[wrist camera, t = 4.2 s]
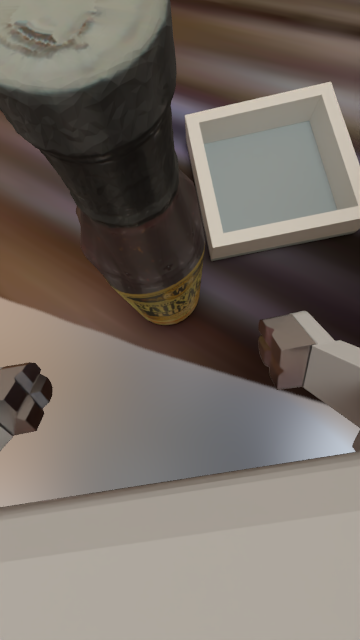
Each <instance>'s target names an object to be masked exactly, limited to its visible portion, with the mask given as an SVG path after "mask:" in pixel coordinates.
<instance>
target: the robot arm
mask: <svg viewBox="0 0 360 640" xmlns="http://www.w3.org/2000/svg"><path fill="white" fill-rule="evenodd" d="M259 331H260V333H261V336H260V337H259V339H258V347H259V352H260V356H261V358H262V361H263V363H264V364H265V365H266V366H268V367H270V368H269V375H270V377H271V379H272V381H273V383H274V385H275V387H276V389H277V390H280V389H287V388H294V387H301V386H304V388H305V389H306V390H308V391H309V392H311V393H312V394H313V395H315V396H316V397H318V398H319V399H320V400H322V401H323V402H324V403H326V404H327V405H329V406H330V407H331V408H333V409H334V410H336V411H337V412H339V413H340V414H341V415H343V416H344V417H345V418H347V419H348V420H350V421H351V422H352V423H354V424H355V425H357V426H358V427H359V428H360V348H359V347H356V346H354V345H351V344H348V343H346V342H343V341H341V340H340V341H335V340H334V339H333V338H332V337H331V336H330V335H329V334H328V333H327V332H326V331H325V330H324V329H323V328H322V327H321V326H320V325H319V323H318V322H317V321H316V320H315V319H314V318H313V317H312V316H311V315H310V314H309V313H308V312H306V311H301V312H296V313H291V314H289V315H283V316H278V317H273V318H267V319H262V320H260V321H259ZM40 371H41V369H40V368H39V367H38V366H37V364H36V363H24V364H19V365H12V366H6V367H2V368H0V451H1V450H2V448H3V447H4V446H5V445H6V444H7V443H8V442H9V441H10V440H11V439H12V437H13V436H14V435H19V434H23V433H29V432H34V431H37V428H38V426H39V424H40V422H41V420H42V417H43V415H44V411H43V408H44V407H45V406H46V405H47V404H48V403H49V402H50V399H51V397H52V385H51V382H50V381H49V379H48V378H47V377H45V376H43V375H41V374H40ZM353 448H354V449H355V451H356V452H353V453H347V454H340V455H334V456H327V457H321V458H315V459H308V460H302V461H296V462H289V463H282V464H276V465H270V466H263V467H257V468H250V469H244V470H237V471H231V472H225V473H218V474H212V475H206V476H199V477H193V478H186V479H180V480H173V481H167V482H161V483H154V484H147V485H141V486H135V487H128V488H122V489H115V490H109V491H102V492H96V493H89V494H83V495H77V496H70V497H64V498H57V499H51V500H45V501H38V502H32V503H25V504H19V505H12V506H6V507H0V640H360V431H359V433H358V435H357V437H356V439H355V441H354V443H353Z"/></svg>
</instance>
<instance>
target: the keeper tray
mask: <svg viewBox="0 0 360 640" xmlns="http://www.w3.org/2000/svg"><path fill="white" fill-rule="evenodd" d="M185 127H186V143H187V148H188V153H189V158H190V162H191V167H192V172H193V177H194V182H195V186H196V191H197V196H198V201H199V206H200V210H201V215H202V220H203V225H204V230H205V234H206V239H207V244H208V249H209V254H210V258H211V261H215V260H220V259H225V258H230V257H235V256H240V255H245V254H250V253H256V252H261V251H266V250H271V249H276V248H281V247H286V246H291V245H296V244H301V243H306V242H311V241H316V240H322V239H327V238H332V237H337V236H342V235H347V234H352V233H355V232H356V231H357V230H358V229H360V165H359V162H358V160H357V157H356V154H355V151H354V148H353V145H352V142H351V139H350V136H349V133H348V130H347V127H346V125H345V122H344V119H343V116H342V113H341V110H340V107H339V104H338V101H337V98H336V95H335V93H334V90H333V87H332V84H331V82H328V83H323V84H319V85H314V86H310V87H306V88H301V89H297V90H293V91H288V92H284V93H280V94H275V95H271V96H267V97H262V98H258V99H253V100H249V101H245V102H240V103H236V104H232V105H227V106H223V107H219V108H214V109H210V110H206V111H201V112H197V113H193V114H188V115H185Z"/></svg>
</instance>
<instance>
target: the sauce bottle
mask: <svg viewBox="0 0 360 640" xmlns="http://www.w3.org/2000/svg"><path fill="white" fill-rule="evenodd" d="M175 86H176V58H175V48H174V41H173V30H172V17H171V7H170V0H0V110H1V111H2V112H3V113H4V115H5V117H6V119H7V120H8V121H9V122H10V123H11V124H12V125H13V127H14V129H15V130H16V132H17V133H18V134H20V135H21V136H22V137H23V138H24V139H25V140H27V141H28V142H29V143H31V144H32V145H33V146H35V147H36V148H38V149H39V150H40V151H41V153H42V154H44V156H45V157H46V158H47V160H48V161H49V162H50V164H51V165H52V166H53V168H54V169H55V170H56V171H57V173H58V174H59V175H60V177H61V178H62V180H63V182H64V183H65V185H66V186H67V188H68V189H69V190H70V194H71V196H72V197H73V199H74V201H75V203H76V205H77V208H76V214H77V216H78V219H79V222H80V225H81V240H80V246H81V249H82V252H83V253H84V255H85V256H86V258H87V259H88V260H89V261H90V262H91V263H92V264H93V265H94V266H95V267H96V268H97V269H98V270H99V271H100V272H101V273H102V274H103V276H104V277H105V279H106V281H107V282H108V283H109V284H110V285H111V286H112V287H113V288H114V289H115V290H116V291H117V292H118V293H119V294H120V295H121V296H122V297H123V298H124V299H125V300H126V301H128V302H129V303H130V304H131V305H132V306H133V307H134V308H135V309H136V310H137V311H138V312H139V313H140V314H141V315H142V316H143V317H145V318H146V319H147V320H149V321H151V322H153V323H156V324H159V325H171V324H177V323H178V322H180V321H183V320H185V319H186V318H187V317H188V316H189V315H190V314H191V313H192V312H193V310H194V309H195V307H196V305H197V302H198V298H199V292H200V283H201V275H202V265H203V259H204V249H205V237H204V232H203V226H202V221H201V216H200V210H199V205H198V200H197V194H196V189H195V187H194V183H193V181H192V180H190V179H189V178H188V177H187V176H186V175H185V174H184V173H183V172H182V171H181V170H180V169H179V168H178V159H177V155H176V152H175V150H174V141H173V129H172V113H171V106H170V105H171V100H172V98H173V95H174V91H175Z"/></svg>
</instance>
